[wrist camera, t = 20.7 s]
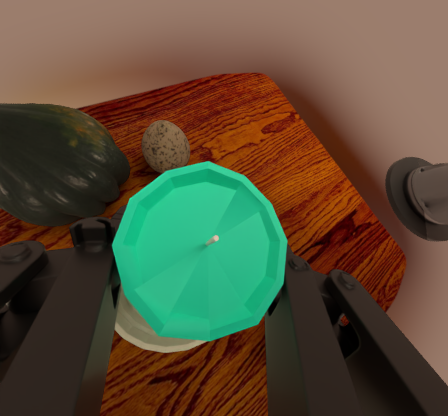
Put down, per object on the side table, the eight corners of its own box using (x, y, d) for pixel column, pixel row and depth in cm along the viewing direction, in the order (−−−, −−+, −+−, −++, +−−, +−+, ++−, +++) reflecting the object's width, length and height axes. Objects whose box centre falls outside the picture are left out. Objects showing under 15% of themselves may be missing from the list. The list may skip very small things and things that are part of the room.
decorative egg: (154, 186, 31) (139, 155, 21) (143, 150, 32) (125, 105, 22) (194, 177, 33) (197, 144, 23) (183, 143, 34) (182, 99, 24)
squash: (155, 200, 25) (63, 66, 15) (39, 269, 20) (-196, 147, 11) (135, 170, 35) (72, 78, 25) (54, 212, 31) (-60, 122, 21)
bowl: (248, 221, 32) (260, 215, 27) (224, 343, 27) (234, 365, 21) (141, 191, 30) (132, 177, 25) (89, 318, 24) (63, 335, 19)
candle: (161, 219, 16) (102, 127, 5) (226, 219, 17) (301, 146, 6) (158, 291, 15) (57, 409, 3) (229, 285, 16) (339, 357, 4)
